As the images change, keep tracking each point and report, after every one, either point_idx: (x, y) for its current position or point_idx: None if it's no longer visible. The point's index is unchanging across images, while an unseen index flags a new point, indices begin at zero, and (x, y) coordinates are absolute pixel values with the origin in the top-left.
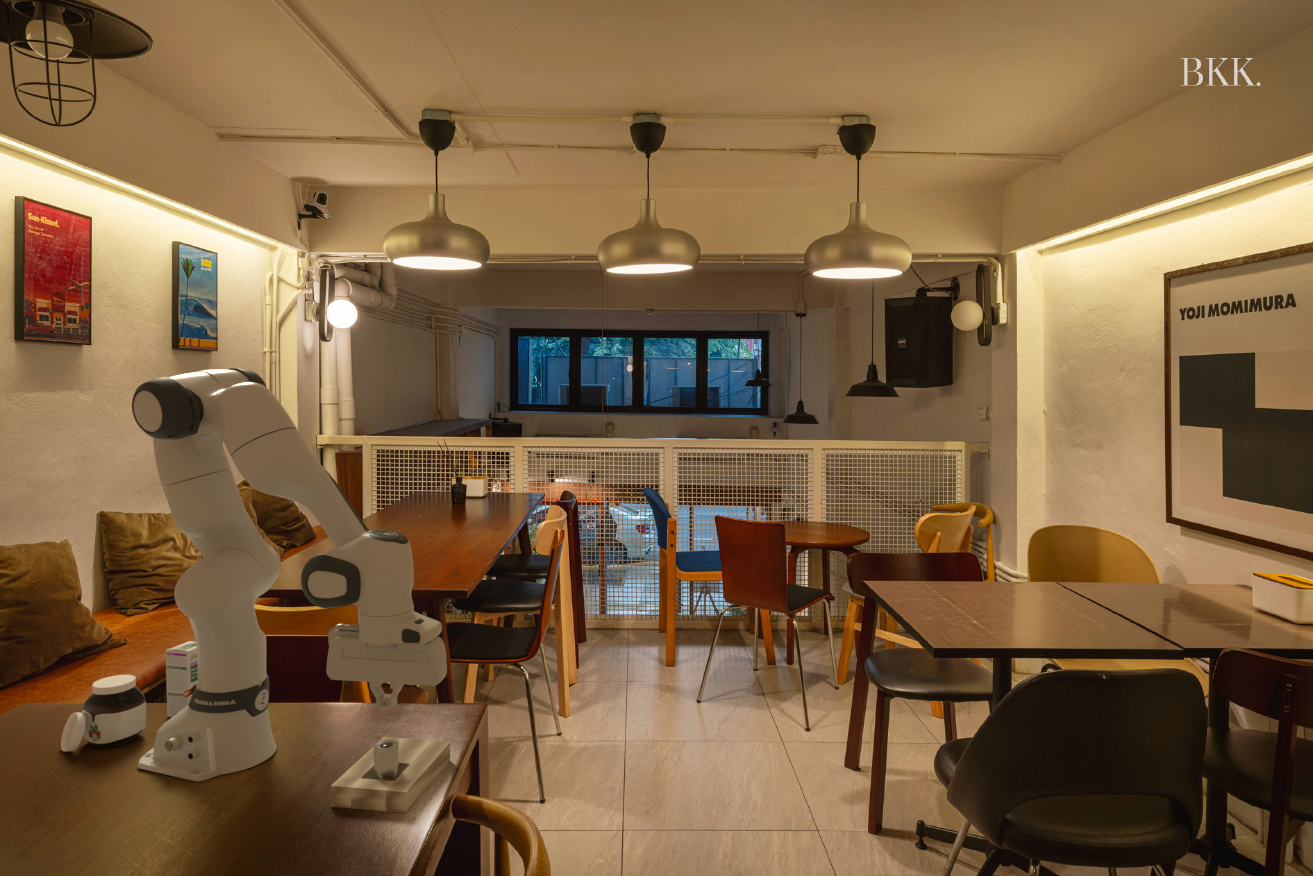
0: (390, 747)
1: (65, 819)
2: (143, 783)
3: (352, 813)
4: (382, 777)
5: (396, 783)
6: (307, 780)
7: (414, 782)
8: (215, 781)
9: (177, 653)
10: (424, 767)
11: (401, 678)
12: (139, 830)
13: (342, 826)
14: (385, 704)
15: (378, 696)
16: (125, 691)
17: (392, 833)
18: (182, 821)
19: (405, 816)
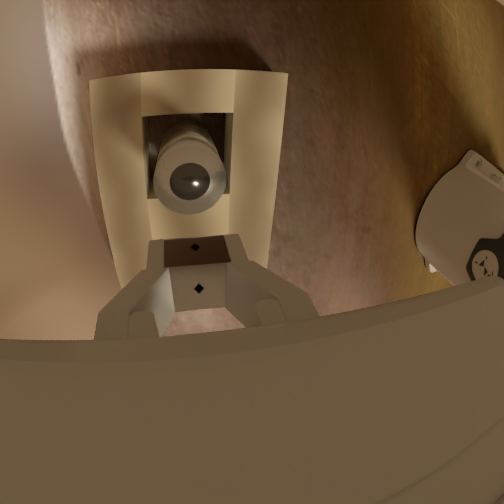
0: (168, 170)
1: None
2: (501, 148)
3: (215, 53)
4: (182, 129)
5: (130, 107)
6: (353, 160)
7: (91, 123)
8: (457, 152)
9: None
10: (106, 191)
11: (23, 373)
12: (479, 44)
13: (213, 10)
14: (187, 244)
15: (236, 267)
16: None
17: (99, 13)
18: (456, 53)
19: (99, 68)
